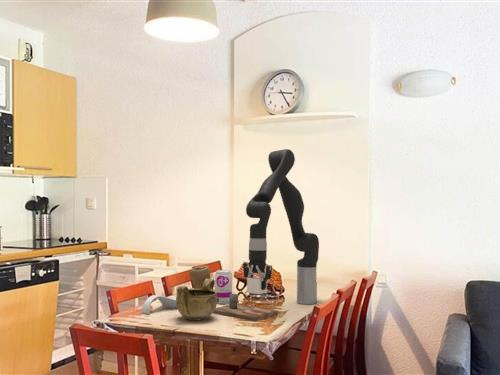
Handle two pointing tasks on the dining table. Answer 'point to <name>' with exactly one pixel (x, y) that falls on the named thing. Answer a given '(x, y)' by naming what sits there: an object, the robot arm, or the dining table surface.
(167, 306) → the grey sandal
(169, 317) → the dining table surface
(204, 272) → the stone cup
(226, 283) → the supplement can
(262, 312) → the post board
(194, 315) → the ceramic bowl
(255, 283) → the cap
